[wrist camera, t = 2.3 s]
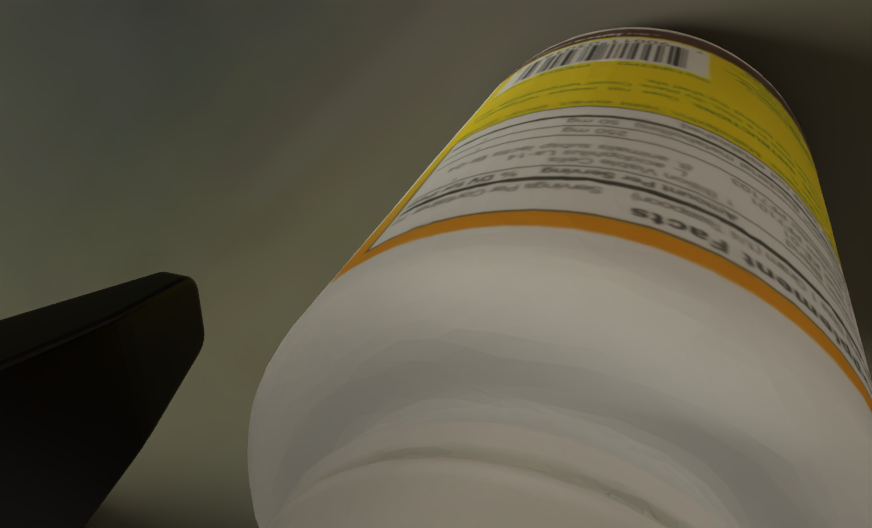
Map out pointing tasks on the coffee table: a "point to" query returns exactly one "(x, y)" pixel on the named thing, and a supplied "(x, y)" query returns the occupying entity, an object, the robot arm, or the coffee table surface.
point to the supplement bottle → (585, 320)
